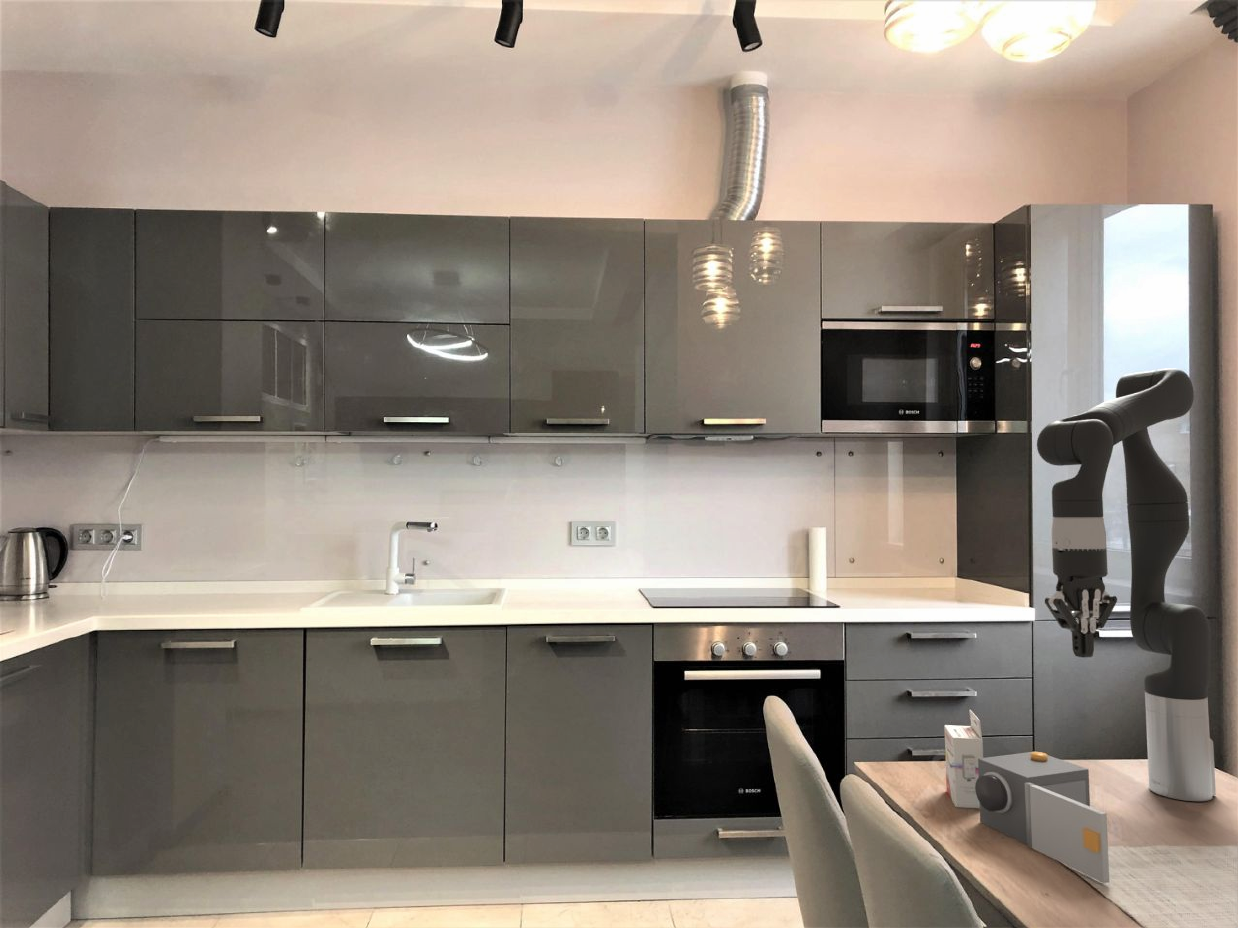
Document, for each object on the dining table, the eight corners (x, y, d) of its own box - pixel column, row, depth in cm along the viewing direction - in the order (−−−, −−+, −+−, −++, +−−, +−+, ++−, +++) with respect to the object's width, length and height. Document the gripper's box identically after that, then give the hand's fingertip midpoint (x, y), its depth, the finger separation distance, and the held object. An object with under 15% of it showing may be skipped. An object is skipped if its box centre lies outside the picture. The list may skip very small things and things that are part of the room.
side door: (1110, 882, 107) (1107, 812, 108) (1100, 883, 107) (1097, 814, 107) (1031, 843, 120) (1029, 781, 120) (1022, 845, 119) (1020, 783, 120)
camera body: (1038, 812, 133) (1036, 746, 134) (1092, 835, 124) (1089, 764, 124) (970, 823, 129) (967, 754, 129) (1020, 848, 119) (1017, 773, 120)
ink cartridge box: (944, 790, 144) (942, 707, 145) (974, 792, 143) (971, 708, 144) (954, 807, 136) (952, 718, 137) (986, 809, 135) (983, 720, 136)
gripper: (1090, 544, 133) (1094, 650, 132) (1027, 546, 129) (1031, 655, 128) (1131, 546, 126) (1136, 657, 125) (1066, 547, 122) (1071, 663, 121)
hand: (1083, 656), depth 127 cm, fingers closed
